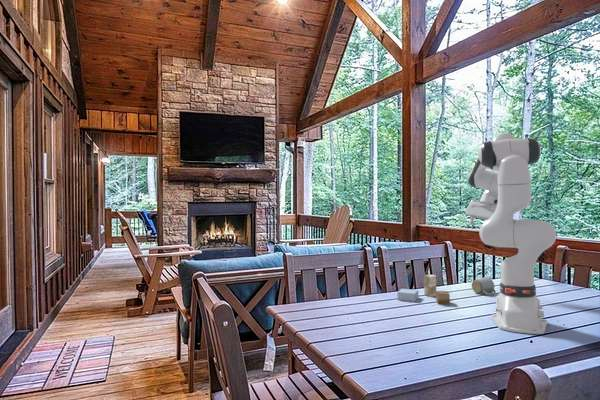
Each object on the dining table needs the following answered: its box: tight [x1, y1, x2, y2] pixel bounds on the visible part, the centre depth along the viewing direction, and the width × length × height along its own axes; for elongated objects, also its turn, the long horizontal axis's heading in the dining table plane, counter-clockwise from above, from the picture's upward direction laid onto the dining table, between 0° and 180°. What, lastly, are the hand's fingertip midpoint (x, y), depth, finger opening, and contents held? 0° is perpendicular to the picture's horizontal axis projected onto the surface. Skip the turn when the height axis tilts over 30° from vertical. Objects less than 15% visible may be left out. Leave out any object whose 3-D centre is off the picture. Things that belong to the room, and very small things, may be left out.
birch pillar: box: [423, 273, 437, 298], centre depth 186 cm, size 4×4×10 cm
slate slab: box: [397, 288, 419, 303], centre depth 181 cm, size 8×8×4 cm
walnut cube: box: [435, 290, 451, 306], centre depth 172 cm, size 5×5×5 cm
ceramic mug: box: [471, 276, 497, 297], centre depth 187 cm, size 11×8×8 cm
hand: (479, 226), depth 192 cm, fingers open, 8 cm apart
